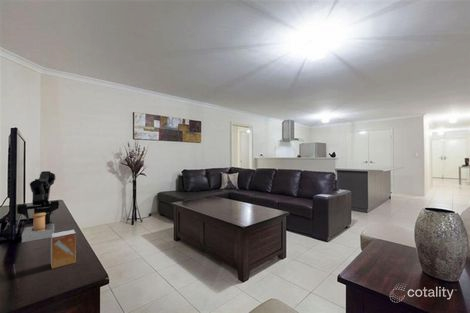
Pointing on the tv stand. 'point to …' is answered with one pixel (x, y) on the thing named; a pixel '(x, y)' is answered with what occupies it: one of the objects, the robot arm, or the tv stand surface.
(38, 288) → the tv stand surface
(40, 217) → the plug
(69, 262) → the small box
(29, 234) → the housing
